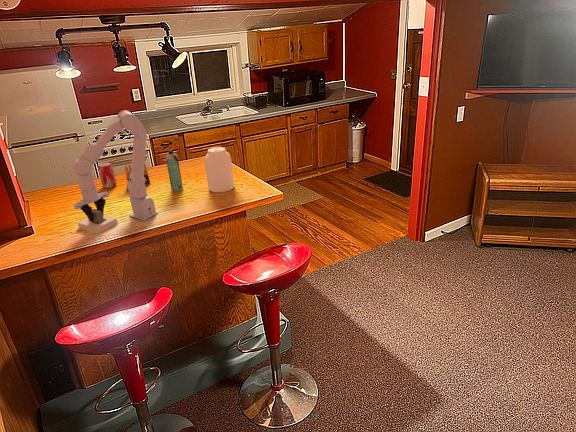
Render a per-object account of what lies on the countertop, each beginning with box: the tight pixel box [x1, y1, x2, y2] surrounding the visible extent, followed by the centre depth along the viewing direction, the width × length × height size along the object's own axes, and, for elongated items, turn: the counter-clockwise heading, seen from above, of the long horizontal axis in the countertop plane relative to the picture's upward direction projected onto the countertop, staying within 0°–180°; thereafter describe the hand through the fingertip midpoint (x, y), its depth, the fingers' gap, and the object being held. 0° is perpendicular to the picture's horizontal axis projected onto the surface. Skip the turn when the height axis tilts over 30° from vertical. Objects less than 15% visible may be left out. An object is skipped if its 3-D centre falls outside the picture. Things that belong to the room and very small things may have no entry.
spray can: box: [165, 149, 184, 193], centre depth 205 cm, size 6×6×20 cm
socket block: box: [77, 214, 119, 235], centre depth 176 cm, size 12×10×2 cm
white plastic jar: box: [204, 146, 235, 193], centre depth 204 cm, size 12×12×20 cm
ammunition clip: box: [124, 163, 151, 186], centre depth 215 cm, size 11×2×12 cm, turn 114°
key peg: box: [91, 208, 104, 224], centre depth 175 cm, size 3×5×7 cm, turn 58°
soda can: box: [97, 161, 117, 189], centre depth 215 cm, size 7×7×12 cm
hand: (96, 218), depth 175 cm, fingers open, 4 cm apart
